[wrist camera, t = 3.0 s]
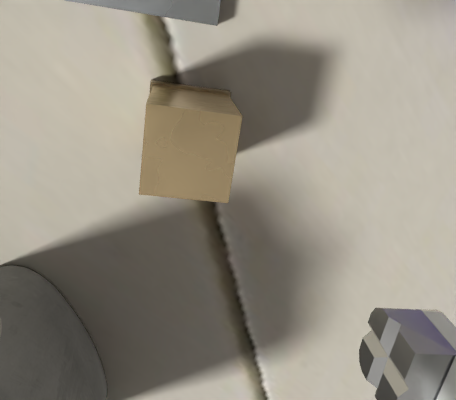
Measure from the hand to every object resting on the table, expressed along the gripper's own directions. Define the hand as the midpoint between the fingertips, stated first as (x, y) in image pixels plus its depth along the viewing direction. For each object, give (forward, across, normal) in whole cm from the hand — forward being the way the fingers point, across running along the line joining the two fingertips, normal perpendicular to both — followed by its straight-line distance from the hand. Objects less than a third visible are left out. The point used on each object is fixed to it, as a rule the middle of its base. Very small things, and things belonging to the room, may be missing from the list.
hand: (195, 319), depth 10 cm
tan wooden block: (+20, 0, 0) cm, 20 cm away
